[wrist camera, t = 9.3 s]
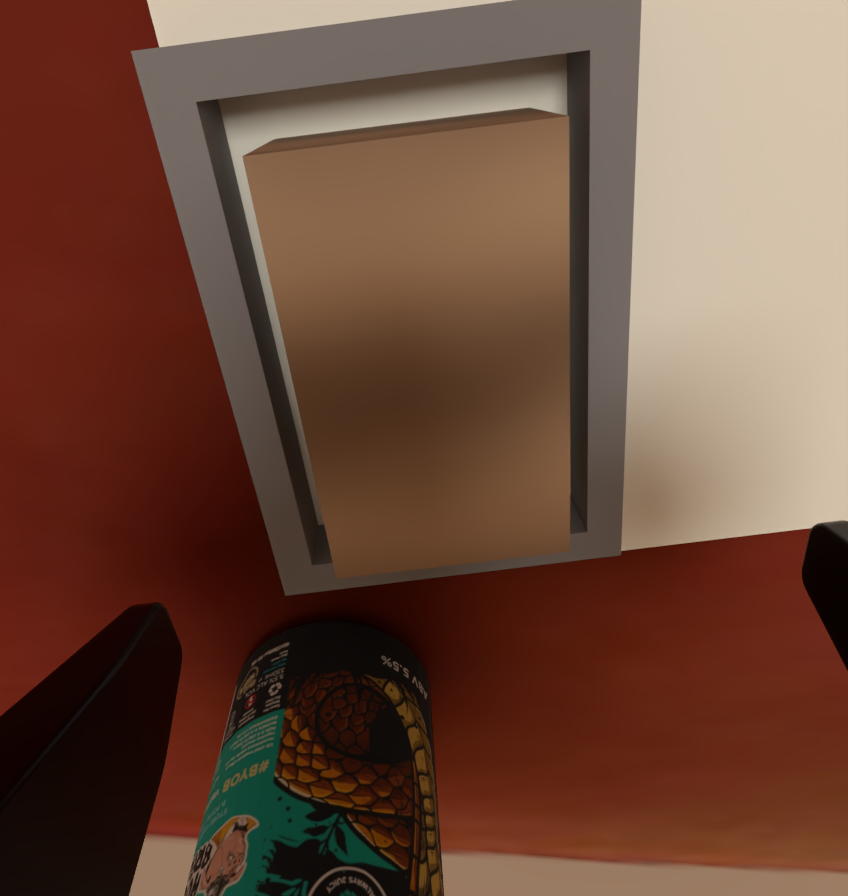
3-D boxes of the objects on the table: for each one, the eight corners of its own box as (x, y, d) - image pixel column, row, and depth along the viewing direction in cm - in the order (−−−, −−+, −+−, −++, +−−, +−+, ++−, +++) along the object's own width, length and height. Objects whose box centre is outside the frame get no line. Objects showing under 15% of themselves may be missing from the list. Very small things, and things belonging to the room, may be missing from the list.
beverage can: (463, 688, 26) (515, 1104, 15) (322, 762, 28) (282, 1181, 17) (351, 575, 23) (321, 995, 12) (201, 665, 25) (63, 1101, 14)
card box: (539, 470, 20) (570, 551, 17) (345, 493, 21) (336, 578, 17) (528, 107, 16) (568, 116, 12) (274, 139, 16) (242, 156, 12)
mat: (1212, -168, 14) (1369, -214, 12) (980, 495, 23) (1047, 542, 20) (148, -25, 15) (104, -43, 12) (304, 577, 23) (295, 632, 21)
